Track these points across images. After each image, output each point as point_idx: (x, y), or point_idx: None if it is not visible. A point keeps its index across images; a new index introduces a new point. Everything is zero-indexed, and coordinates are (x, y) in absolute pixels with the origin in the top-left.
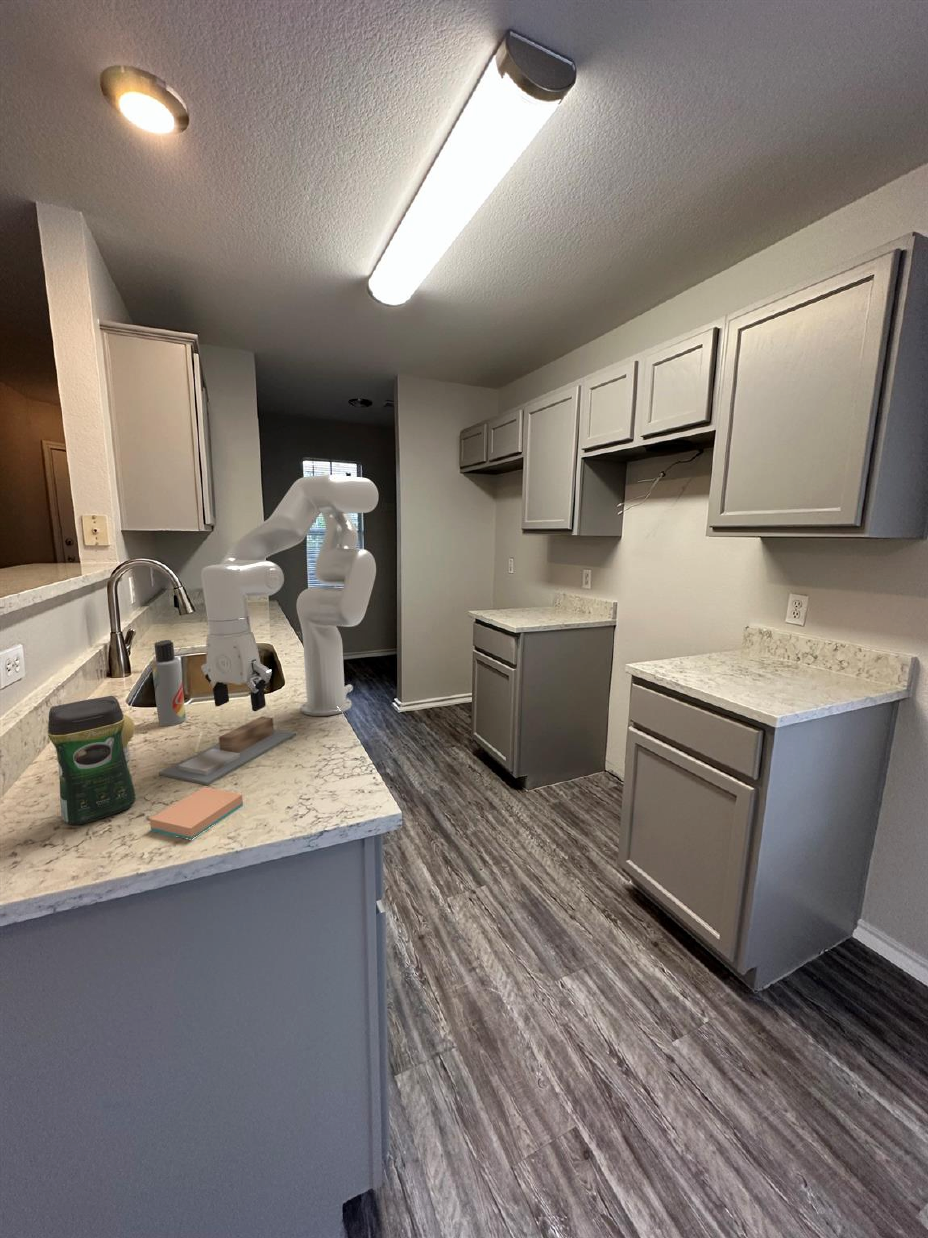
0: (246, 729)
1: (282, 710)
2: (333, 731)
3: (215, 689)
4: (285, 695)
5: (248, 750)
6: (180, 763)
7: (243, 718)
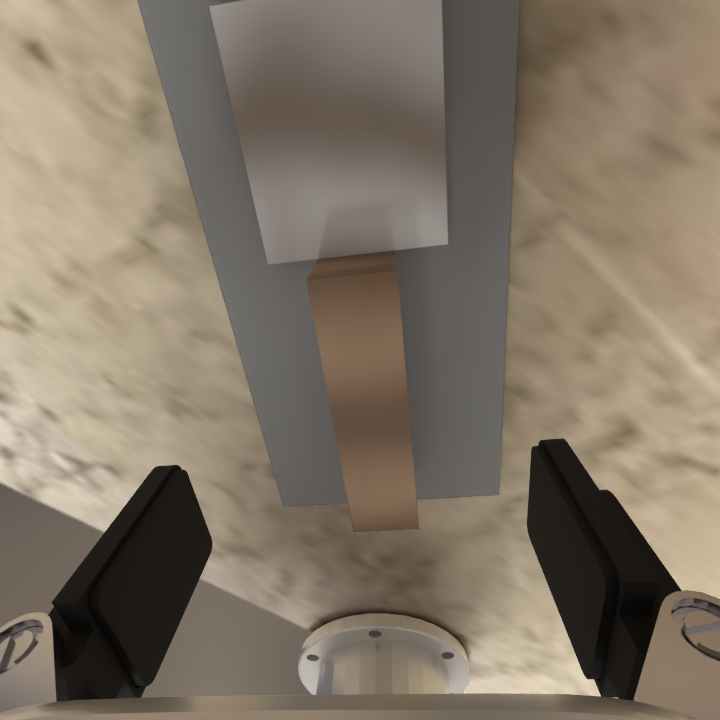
0: (344, 401)
1: (521, 617)
2: None
3: (619, 580)
4: None
5: (301, 324)
6: (497, 45)
7: None
